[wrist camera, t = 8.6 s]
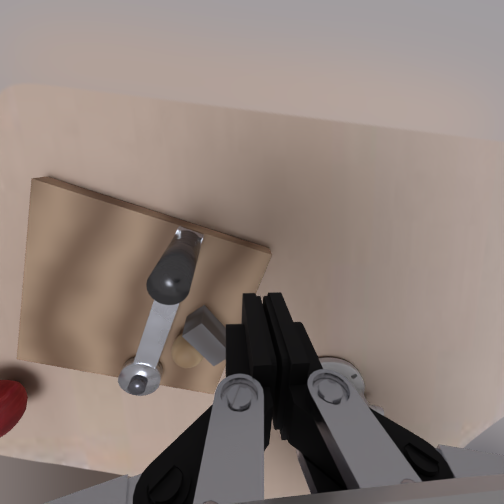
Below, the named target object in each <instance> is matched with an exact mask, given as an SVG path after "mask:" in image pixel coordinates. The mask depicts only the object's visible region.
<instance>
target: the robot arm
mask: <svg viewBox="0 0 504 504" xmlns="http://www.w3.org/2000/svg"><path fill="white" fill-rule="evenodd" d="M364 391H365V385H364V381H363V378H362V376H361V375H360V373H359V371H358V370H357V369H356V368H355V366H353V365H352V364H351V363H349V362H347V361H345V360H342V359H338V358H329V357H326V358H318V356H317V354H316V352H315V350H314V348H313V345H312V343H311V341H310V339H309V337H308V334H307V332H306V330H305V328H304V326H303V324H302V323H301V322H293V320H292V318H291V315H290V313H289V311H288V308H287V306H286V303H285V301H284V298H283V296H282V294H281V293H280V292H279V293H268V296H264V297H263V305H262V301H261V297H260V296H256V294H255V293H243V295H242V321H241V324H226V378H225V379H223V380H222V381H221V382H220V384H219V385H218V386H217V389H216V392H215V397H214V402H213V405H211V406H210V407H209V408H208V409H207V410H206V411H205V412H204V413H203V414H202V415H201V416H200V417H199V418H198V419H197V420H196V421H195V422H194V423H193V424H192V425H191V426H189V427H188V428H187V429H186V430H185V431H184V432H183V433H182V434H181V435H180V436H179V437H178V438H177V439H176V440H175V441H174V442H173V443H172V444H171V445H170V446H168V447H167V448H166V449H165V450H164V451H163V452H162V453H161V454H160V455H159V456H158V457H157V458H156V459H155V460H154V461H153V462H152V463H151V464H150V465H149V466H148V467H147V468H146V469H145V471H144V472H143V473H142V474H139V475H136V476H134V477H131V478H128V474H127V475H124V476H121V477H119V478H115V479H113V480H110V481H107V482H104V483H101V484H98V485H95V486H92V487H90V488H87V489H84V490H81V491H78V492H75V493H72V494H70V495H67V496H64V497H61V498H58V499H55V500H52V501H49V502H46V503H44V504H504V455H500V454H494V453H487V452H481V451H475V450H469V449H463V448H457V447H451V446H445V445H438V447H437V448H434V447H433V446H432V445H431V444H429V443H428V442H426V441H425V440H424V439H422V438H420V437H419V436H417V435H415V434H413V433H412V432H410V431H408V430H407V429H405V428H403V427H402V426H400V425H398V424H397V423H395V422H393V421H391V420H390V419H388V418H386V417H385V416H384V410H383V408H382V407H380V406H375V405H369V403H368V402H367V400H366V398H365V396H364ZM272 419H273V425H274V429H275V430H277V429H280V434H281V439H282V440H288V442H289V443H290V444H291V445H292V446H293V447H295V448H296V453H297V457H298V460H299V463H300V466H301V468H302V471H303V474H304V476H305V479H306V482H307V484H308V487H309V490H310V492H311V494H308V495H300V496H291V497H282V498H274V499H265V500H264V451H265V449H266V448H267V446H268V445H269V440H270V431H271V422H272Z"/></svg>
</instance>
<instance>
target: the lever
mask: <svg viewBox="0 0 504 504" xmlns="http://www.w3.org/2000/svg"><path fill="white" fill-rule="evenodd" d="M203 237H204V235H203V234H200V233H198V232H195V231H192V230H189V229H186V228H183V227H181V226H179V227H178V229H177V231H176V234H175V236H174V237H173V239H172V240H171V242H170V244H169V245H168V247H167V248H166V250H165V252H164V253H163V255H162V256H161V258H160V260H159V261H158V263H157V264H156V266H155V268H154V269H153V271H152V272H151V274H150V276H149V277H148V279H147V283H146V287H147V291H148V293H149V295H150V296H151V298H152V299H154V302H153V305H152V308H151V311H150V314H149V317H148V320H147V323H146V326H145V329H144V332H143V335H142V338H141V341H140V344H139V347H138V350H137V353H136V357H133V358H131V359H129V360H128V361H127V362H126V363H125V364H124V366H123V368H122V370H121V372H120V375H119V377H118V383H119V385H120V387H121V388H122V389H123V390H124V391H125V392H127V393H129V394H132V395H138V396H142V395H148V394H150V393H152V392H154V391H155V390H156V389H157V388H158V387H159V384H160V381H161V377H162V374H163V368H162V366H161V364H160V363H159V362H158V361H159V358H160V355H161V352H162V350H163V347H164V344H165V341H166V339H167V336H168V333H169V331H170V328H171V325H172V322H173V320H174V317H175V314H176V311H177V309H178V306H179V303H180V302H182V301H183V300H185V299H186V297H187V296H188V294H189V291H190V288H191V284H192V280H193V276H194V272H195V268H196V265H197V261H198V257H199V253H200V249H201V243H202V240H203Z"/></svg>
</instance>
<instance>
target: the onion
mask: <svg viewBox="0 0 504 504" xmlns="http://www.w3.org/2000/svg"><path fill="white" fill-rule="evenodd" d="M27 398H28V397H27V392H26V390H25V388H24V386H23V385H22V384H21V383H20V382H18V381H12V380H0V437H2V436H3V435H5V434H6V433H8V432H9V431H10V430H11V429H12V428H13V427H14V426H15V425H16V424H17V423H18V421H19V420H20V419H21V417H22V416H23V414H24V412H25V410H26V405H27Z"/></svg>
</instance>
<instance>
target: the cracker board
mask: <svg viewBox="0 0 504 504" xmlns="http://www.w3.org/2000/svg"><path fill="white" fill-rule="evenodd" d="M179 226H181V227H183V228H186V229H189V230H192V231H195V232H198V233H200V234H203V235H204V237H203V240H202V243H201V249H200V253H199V257H198V261H197V265H196V268H195V272H194V276H193V280H192V284H191V288H190V291H189V294H188V296H187V297H186V299H185V300H183V301H182V302H180V303H179V306H178V309H177V311H176V314H175V317H174V320H173V322H172V325H171V328H170V331H169V333H168V336H167V339H166V341H165V344H164V347H163V350H162V352H161V355H160V358H159V361H158V362H159V363H160V364H161V366H162V368H163V374H162V377H161V381H160V384H159V385H164V386H169V387H175V388H180V389H186V390H192V391H197V392H203V393H208V394H214V392H215V389H216V387H217V384H218V382H219V380H220V377H221V375H222V373H223V370H224V368H225V365H226V324H241V321H242V295H243V293H255V294H256V292H257V290H258V287H259V285H260V282H261V280H262V278H263V275H264V273H265V271H266V268H267V266H268V263H269V261H270V259H271V256H272V253H271V251H270V249H269V248H267V247H264V246H261V245H258V244H255V243H252V242H249V241H245V240H242V239H239V238H236V237H233V236H230V235H227V234H224V233H221V232H218V231H214V230H211V229H208V228H205V227H202V226H199V225H196V224H193V223H190V222H187V221H183V220H180V219H177V218H174V217H171V216H168V215H165V214H162V213H159V212H156V211H152V210H149V209H146V208H143V207H140V206H137V205H134V204H131V203H128V202H125V201H121V200H118V199H115V198H112V197H109V196H106V195H103V194H100V193H97V192H93V191H90V190H87V189H84V188H81V187H78V186H75V185H72V184H69V183H66V182H62V181H59V180H56V179H53V178H50V177H40V178H32V180H31V193H30V205H29V217H28V229H27V241H26V253H25V265H24V277H23V289H22V301H21V313H20V325H19V337H18V349H17V359H18V360H24V361H29V362H35V363H41V364H46V365H52V366H57V367H63V368H69V369H74V370H80V371H85V372H91V373H97V374H102V375H108V376H113V377H119V375H120V372H121V370H122V368H123V366H124V364H125V363H126V362H127V361H128V360H129V359H131V358H133V357H136V353H137V350H138V347H139V344H140V341H141V338H142V335H143V332H144V329H145V326H146V323H147V320H148V317H149V314H150V311H151V308H152V305H153V302H154V299H152V298H151V296H150V295H149V293H148V291H147V287H146V283H147V279H148V277H149V276H150V274H151V272H152V271H153V269H154V268H155V266H156V264H157V263H158V261H159V260H160V258H161V256H162V255H163V253H164V252H165V250H166V248H167V247H168V245H169V244H170V242H171V240H172V239H173V237H174V236H175V234H176V231H177V229H178V227H179Z"/></svg>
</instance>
